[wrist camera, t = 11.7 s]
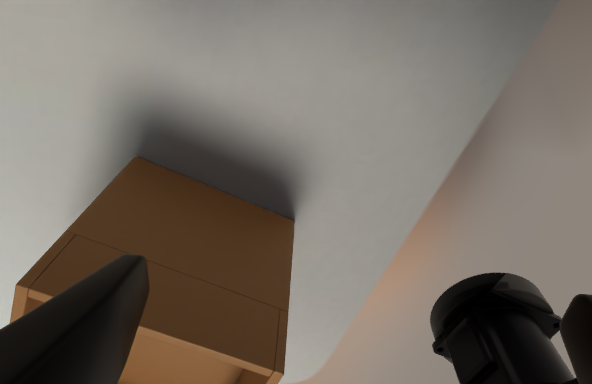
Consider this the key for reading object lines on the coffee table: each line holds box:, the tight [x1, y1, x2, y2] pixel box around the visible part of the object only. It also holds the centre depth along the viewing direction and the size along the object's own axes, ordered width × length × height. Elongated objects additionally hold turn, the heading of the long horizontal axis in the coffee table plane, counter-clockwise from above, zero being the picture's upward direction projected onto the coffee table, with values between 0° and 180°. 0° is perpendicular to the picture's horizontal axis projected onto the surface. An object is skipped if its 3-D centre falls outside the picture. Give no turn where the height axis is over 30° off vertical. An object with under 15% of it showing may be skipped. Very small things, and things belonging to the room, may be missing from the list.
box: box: [10, 156, 295, 384], centre depth 20 cm, size 9×9×10 cm
